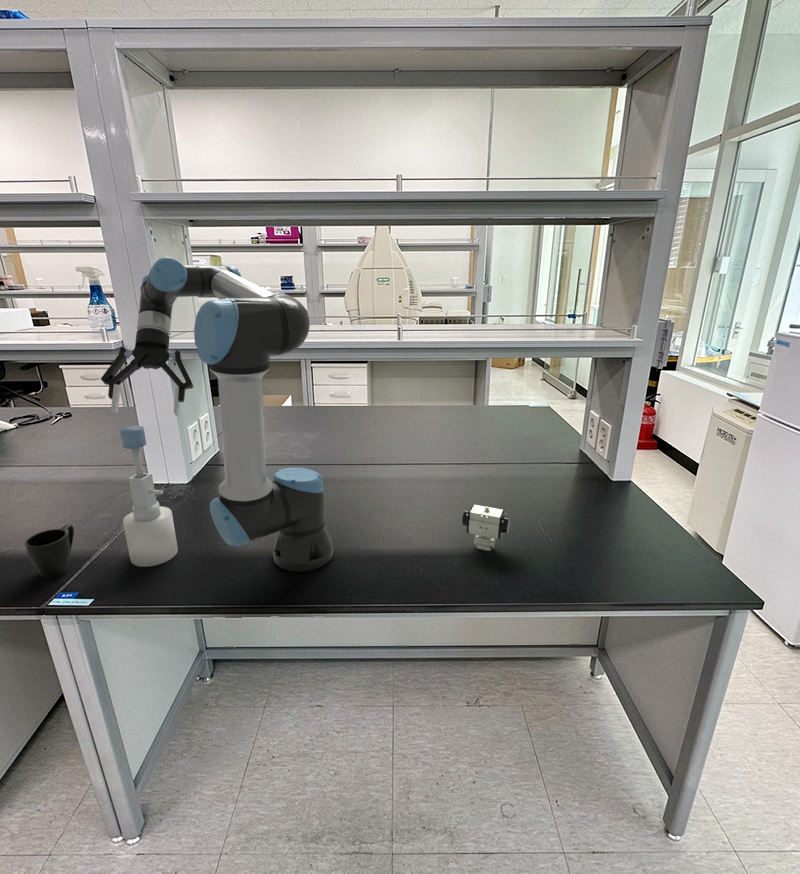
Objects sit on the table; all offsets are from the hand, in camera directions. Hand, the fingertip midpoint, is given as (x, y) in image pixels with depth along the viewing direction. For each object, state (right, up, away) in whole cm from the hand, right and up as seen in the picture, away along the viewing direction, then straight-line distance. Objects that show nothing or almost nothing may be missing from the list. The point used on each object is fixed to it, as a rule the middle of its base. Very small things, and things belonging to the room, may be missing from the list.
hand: (145, 413), depth 118 cm
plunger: (-1, -16, 0) cm, 16 cm away
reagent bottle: (-2, -36, +7) cm, 37 cm away
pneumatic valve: (+84, -36, +11) cm, 92 cm away
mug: (-22, -38, +2) cm, 44 cm away
